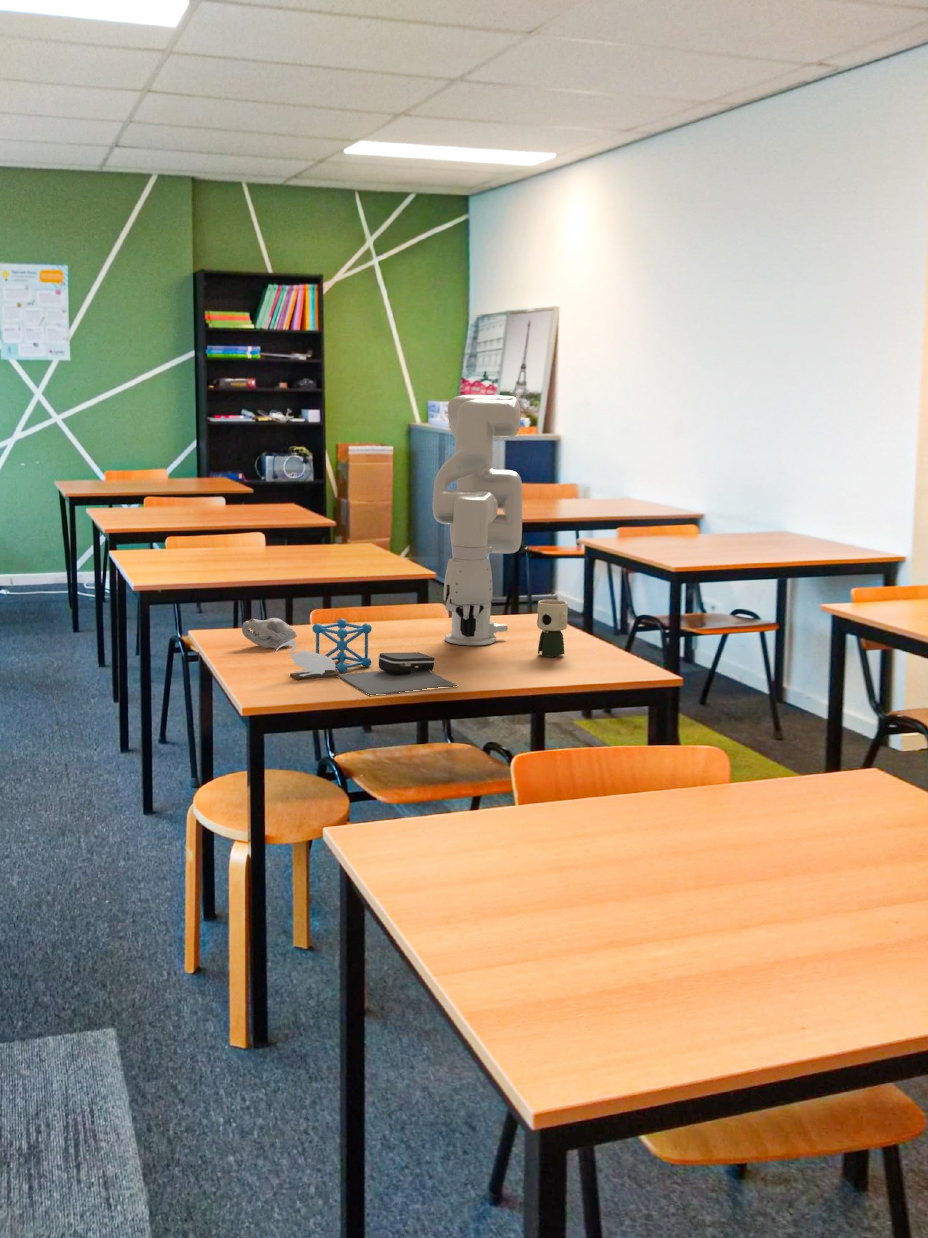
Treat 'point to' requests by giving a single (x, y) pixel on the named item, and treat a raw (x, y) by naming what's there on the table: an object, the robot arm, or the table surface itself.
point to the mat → (395, 681)
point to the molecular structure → (344, 643)
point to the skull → (268, 632)
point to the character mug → (552, 626)
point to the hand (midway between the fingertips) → (467, 635)
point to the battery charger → (405, 662)
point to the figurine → (311, 664)
